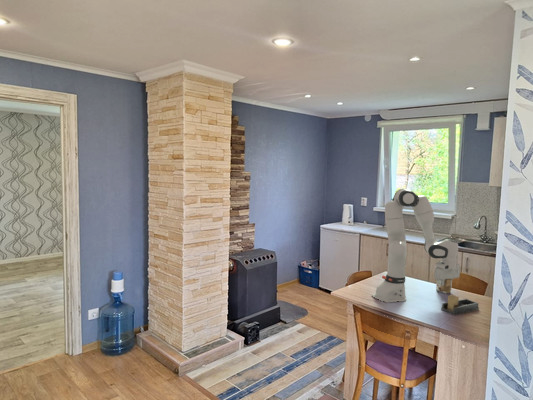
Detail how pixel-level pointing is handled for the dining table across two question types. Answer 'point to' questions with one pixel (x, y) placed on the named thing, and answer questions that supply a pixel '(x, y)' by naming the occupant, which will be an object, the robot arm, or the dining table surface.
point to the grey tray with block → (459, 305)
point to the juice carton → (438, 287)
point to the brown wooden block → (446, 285)
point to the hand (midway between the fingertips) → (446, 285)
